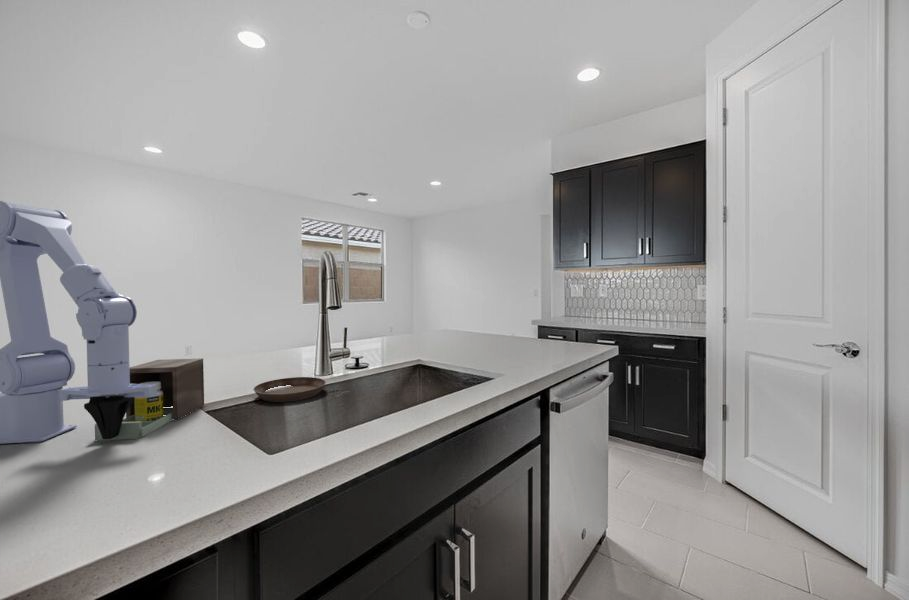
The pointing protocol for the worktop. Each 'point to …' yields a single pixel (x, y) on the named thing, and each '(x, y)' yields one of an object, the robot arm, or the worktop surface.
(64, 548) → the worktop surface
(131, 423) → the tray
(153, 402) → the supplement bottle
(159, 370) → the wooden open box
